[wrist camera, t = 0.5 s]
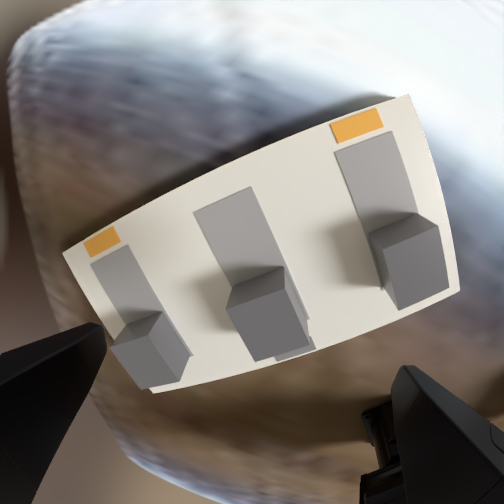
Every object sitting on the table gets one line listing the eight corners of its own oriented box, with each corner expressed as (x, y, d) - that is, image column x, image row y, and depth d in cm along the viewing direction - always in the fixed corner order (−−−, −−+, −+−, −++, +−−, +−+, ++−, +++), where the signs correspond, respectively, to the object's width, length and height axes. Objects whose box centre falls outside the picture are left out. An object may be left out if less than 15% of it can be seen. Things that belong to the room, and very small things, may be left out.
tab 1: (190, 355, 22) (179, 381, 19) (153, 364, 23) (140, 389, 20) (162, 311, 21) (147, 335, 18) (126, 324, 22) (109, 347, 19)
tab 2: (429, 268, 18) (449, 287, 16) (384, 288, 19) (398, 310, 16) (416, 213, 17) (438, 225, 15) (367, 233, 18) (382, 249, 15)
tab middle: (306, 318, 20) (310, 344, 18) (258, 334, 21) (254, 362, 18) (284, 266, 19) (284, 288, 16) (232, 286, 20) (225, 309, 17)
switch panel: (448, 279, 21) (460, 291, 19) (160, 379, 26) (153, 394, 24) (397, 97, 17) (409, 93, 15) (75, 244, 23) (61, 253, 21)
